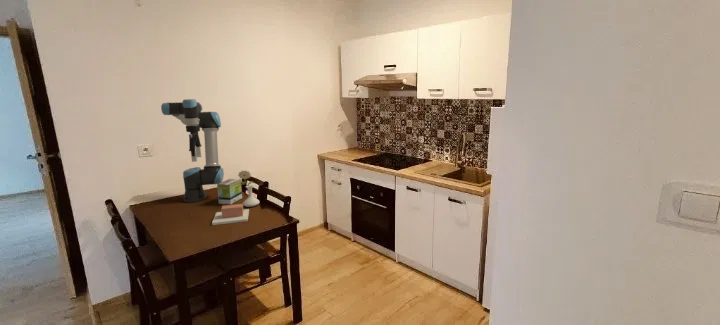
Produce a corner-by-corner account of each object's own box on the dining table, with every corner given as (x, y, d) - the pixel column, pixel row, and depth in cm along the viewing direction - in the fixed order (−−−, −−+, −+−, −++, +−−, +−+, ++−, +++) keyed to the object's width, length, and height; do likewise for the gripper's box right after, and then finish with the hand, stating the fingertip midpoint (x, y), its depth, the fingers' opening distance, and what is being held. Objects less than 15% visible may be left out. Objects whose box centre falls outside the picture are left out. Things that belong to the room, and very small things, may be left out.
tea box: (231, 204, 232) (229, 184, 229) (218, 204, 234) (216, 184, 231) (242, 198, 246) (241, 178, 243) (230, 197, 248) (228, 178, 245)
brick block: (242, 206, 205) (221, 209, 202) (242, 216, 207) (222, 218, 204) (242, 203, 211) (222, 205, 208) (243, 212, 212) (223, 214, 209)
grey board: (216, 214, 214) (216, 212, 214) (249, 211, 219) (249, 209, 219) (212, 225, 197) (211, 222, 197) (247, 221, 202) (247, 219, 202)
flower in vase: (262, 202, 235) (259, 168, 230) (255, 208, 224) (252, 172, 219) (244, 202, 237) (241, 168, 231) (237, 207, 225) (233, 172, 220)
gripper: (194, 126, 190) (199, 162, 195) (203, 122, 214) (207, 155, 219) (180, 127, 189) (185, 163, 193) (190, 123, 212) (194, 155, 217)
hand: (196, 159), depth 206 cm, fingers open, 13 cm apart
